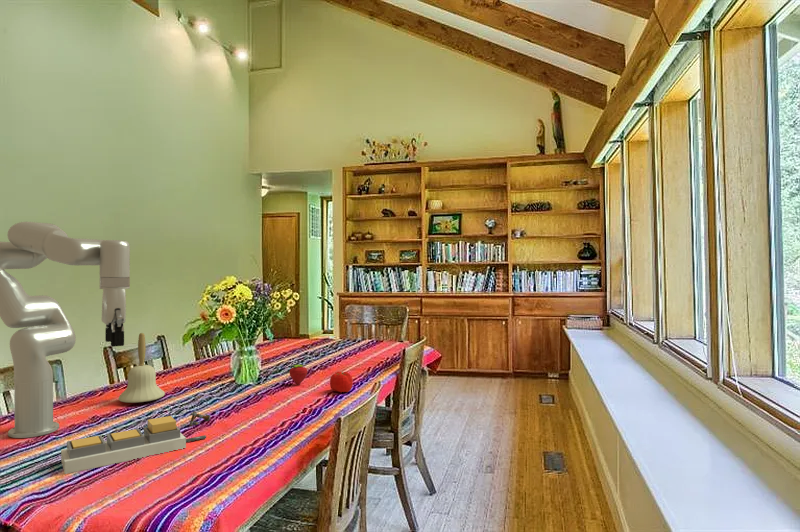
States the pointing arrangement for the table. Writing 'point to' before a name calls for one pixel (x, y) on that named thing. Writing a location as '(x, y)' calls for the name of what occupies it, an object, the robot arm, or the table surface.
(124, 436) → the button middle
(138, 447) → the strip
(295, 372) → the strawberry
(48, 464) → the table surface
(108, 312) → the robot arm
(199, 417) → the wooden post with brackets
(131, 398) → the handbell
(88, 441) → the button left
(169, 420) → the button right
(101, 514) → the table surface
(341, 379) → the tomato
